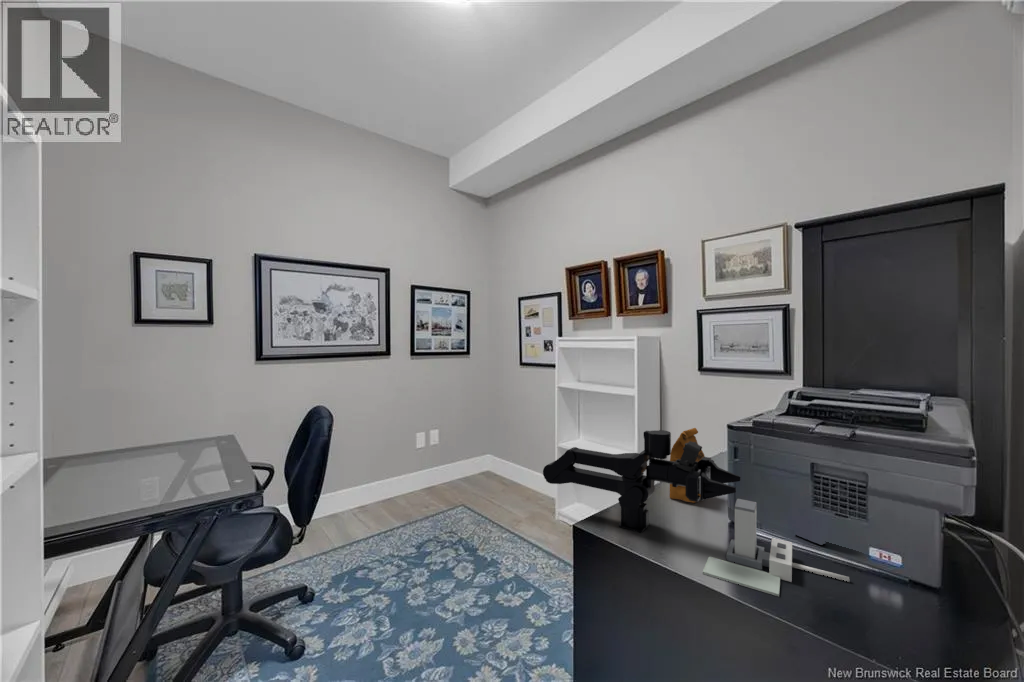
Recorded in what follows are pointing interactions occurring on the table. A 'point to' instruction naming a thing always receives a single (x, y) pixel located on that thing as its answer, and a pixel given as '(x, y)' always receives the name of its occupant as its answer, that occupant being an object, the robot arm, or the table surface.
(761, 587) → the sage mat
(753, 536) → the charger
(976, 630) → the table surface
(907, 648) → the table surface
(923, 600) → the table surface
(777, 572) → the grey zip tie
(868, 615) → the table surface
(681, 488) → the coffee package
